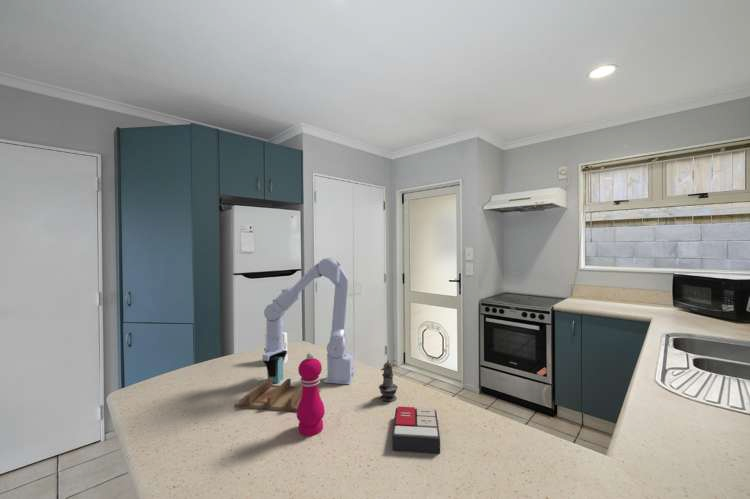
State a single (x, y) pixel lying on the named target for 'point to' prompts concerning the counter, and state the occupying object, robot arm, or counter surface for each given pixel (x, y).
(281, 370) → the plug block
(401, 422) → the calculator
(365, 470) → the counter surface
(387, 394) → the dark grey tall piece
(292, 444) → the counter surface
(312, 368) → the pepper mill
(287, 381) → the slot rack
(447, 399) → the counter surface
